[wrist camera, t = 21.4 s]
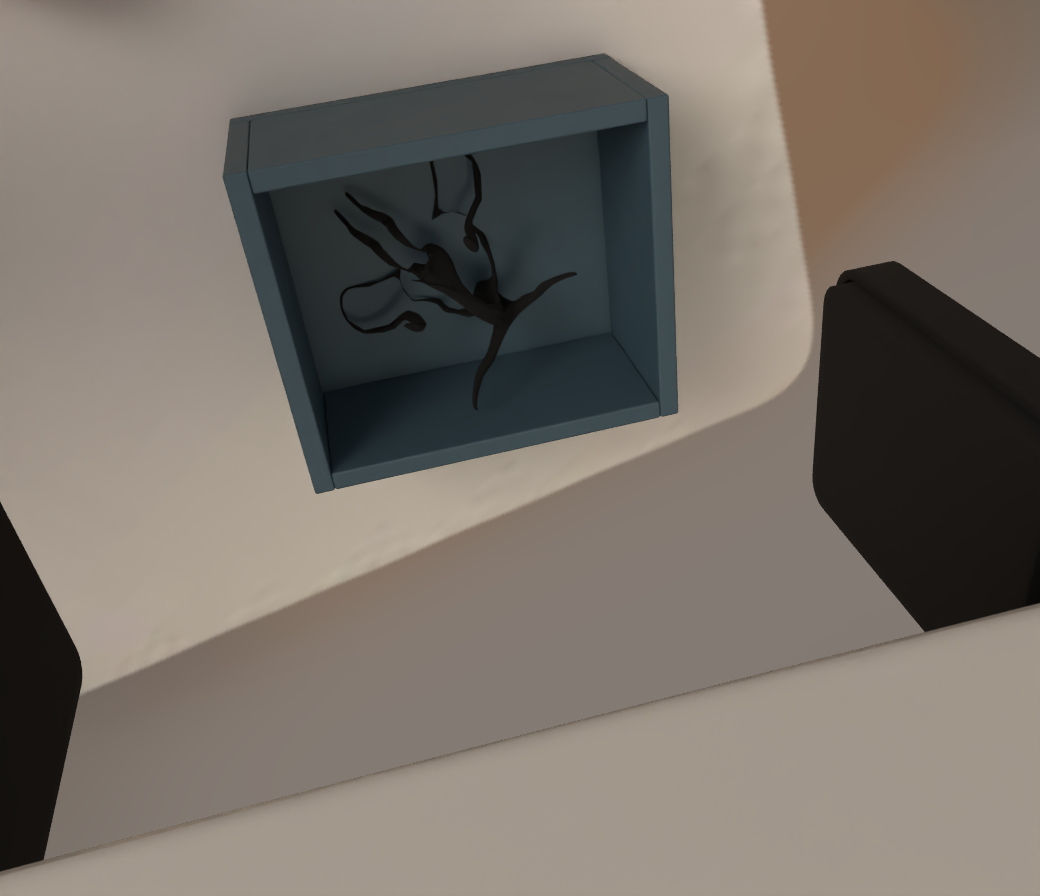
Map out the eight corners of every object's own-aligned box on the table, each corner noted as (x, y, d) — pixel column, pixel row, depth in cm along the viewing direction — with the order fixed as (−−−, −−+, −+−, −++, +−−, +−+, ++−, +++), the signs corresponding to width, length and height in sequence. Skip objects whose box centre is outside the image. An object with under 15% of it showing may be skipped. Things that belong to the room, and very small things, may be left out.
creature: (292, 278, 37) (466, 388, 39) (263, 321, 32) (463, 444, 34) (402, 100, 34) (581, 229, 36) (389, 118, 29) (597, 264, 32)
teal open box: (308, 402, 39) (315, 495, 34) (229, 118, 33) (221, 175, 28) (623, 335, 41) (679, 413, 35) (605, 53, 35) (669, 94, 29)
